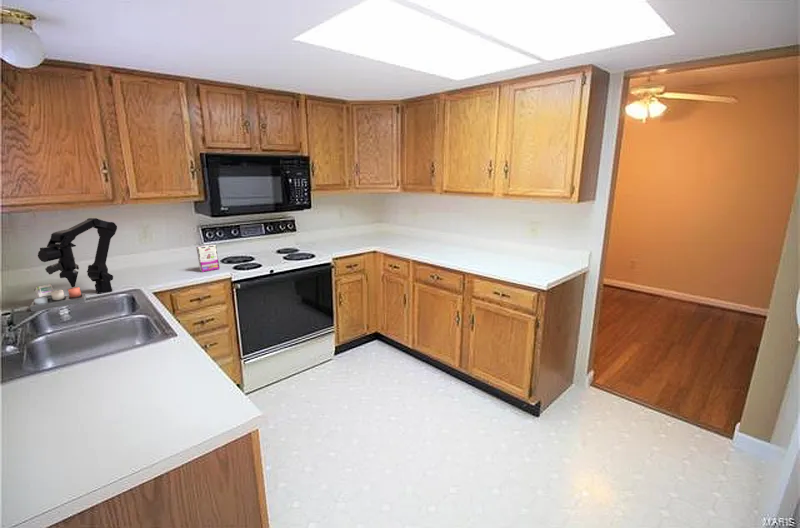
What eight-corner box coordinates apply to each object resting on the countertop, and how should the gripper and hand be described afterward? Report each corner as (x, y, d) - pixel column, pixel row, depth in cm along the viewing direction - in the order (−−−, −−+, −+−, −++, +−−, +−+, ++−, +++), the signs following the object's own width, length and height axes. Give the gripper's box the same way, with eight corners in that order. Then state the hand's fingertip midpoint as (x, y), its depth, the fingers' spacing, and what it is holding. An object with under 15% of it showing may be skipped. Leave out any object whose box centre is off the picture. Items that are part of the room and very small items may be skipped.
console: (86, 297, 198) (85, 292, 198) (85, 302, 191) (83, 297, 190) (34, 305, 187) (33, 300, 186) (31, 311, 179) (29, 306, 179)
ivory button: (65, 296, 191) (63, 289, 190) (64, 299, 188) (62, 291, 187) (53, 298, 189) (51, 290, 188) (52, 301, 185) (50, 293, 184)
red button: (81, 293, 195) (79, 286, 194) (81, 296, 191) (79, 288, 190) (70, 295, 192) (68, 288, 191) (69, 298, 189) (67, 290, 188)
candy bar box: (217, 267, 254) (214, 244, 250) (219, 269, 251) (216, 245, 246) (199, 271, 247) (195, 246, 243) (201, 272, 243) (197, 247, 239)
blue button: (49, 303, 188) (47, 296, 187) (48, 306, 184) (46, 298, 183) (36, 305, 185) (34, 298, 184) (35, 308, 182) (33, 300, 181)
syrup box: (48, 287, 198) (51, 283, 189) (51, 297, 199) (54, 294, 189) (33, 290, 194) (35, 286, 184) (37, 301, 194) (39, 297, 185)
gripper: (46, 256, 189) (54, 285, 193) (41, 263, 175) (50, 295, 179) (75, 252, 196) (82, 281, 200) (72, 259, 181) (80, 290, 185)
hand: (73, 286), depth 191 cm, fingers closed
